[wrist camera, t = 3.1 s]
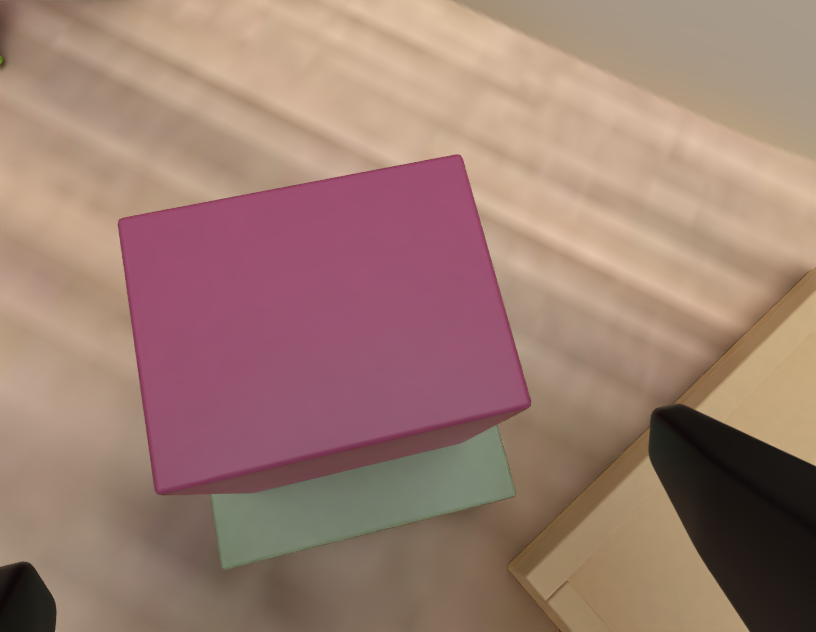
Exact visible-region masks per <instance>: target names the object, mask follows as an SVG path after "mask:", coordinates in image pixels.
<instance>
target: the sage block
mask: <svg viewBox="0 0 816 632" xmlns="http://www.w3.org/2000/svg"><path fill="white" fill-rule="evenodd" d="M515 495H516V492H515V488H514V484H513V481H512V477H511V473H510V469H509V466H508V462H507V458H506V454H505V451H504V447H503V443H502V439H501V436H500V432H499V428H498V424H497V425H495V426H493V427H491V428H490V429H488V430H486V431H484V432H482V433H480V434H478V435H476V436H474V437H472V438H471V439H469V440H467V441H465V442H463V443H460V444H456V445H452V446H447V447H443V448H439V449H435V450H431V451H427V452H422V453H418V454H414V455H410V456H406V457H402V458H397V459H393V460H389V461H385V462H381V463H377V464H372V465H368V466H364V467H360V468H356V469H352V470H347V471H343V472H339V473H335V474H331V475H327V476H322V477H318V478H314V479H310V480H306V481H302V482H297V483H293V484H289V485H285V486H281V487H277V488H272V489H268V490H264V491H260V492H256V493H242V494H210V499H211V505H212V511H213V518H214V524H215V530H216V537H217V543H218V549H219V555H220V562H221V567H222V569H225V570H226V569H230V568H234V567H238V566H242V565H246V564H249V563H253V562H257V561H261V560H265V559H269V558H273V557H277V556H281V555H285V554H289V553H293V552H297V551H301V550H305V549H309V548H313V547H317V546H321V545H325V544H329V543H333V542H337V541H341V540H345V539H349V538H353V537H357V536H361V535H365V534H369V533H373V532H377V531H381V530H385V529H389V528H393V527H397V526H401V525H405V524H409V523H412V522H416V521H420V520H424V519H428V518H432V517H436V516H440V515H444V514H448V513H452V512H456V511H460V510H464V509H468V508H472V507H476V506H480V505H484V504H488V503H492V502H496V501H500V500H504V499H508V498H512V497H514V496H515Z"/></svg>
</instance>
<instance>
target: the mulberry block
mask: <svg viewBox="0 0 816 632" xmlns="http://www.w3.org/2000/svg"><path fill="white" fill-rule="evenodd" d="M118 229H119V237H120V244H121V251H122V258H123V265H124V273H125V280H126V287H127V294H128V301H129V309H130V316H131V323H132V330H133V337H134V345H135V352H136V359H137V366H138V373H139V380H140V388H141V395H142V402H143V409H144V416H145V424H146V431H147V438H148V445H149V452H150V460H151V467H152V474H153V481H154V488H155V491H156V493H157V494H159V495H193V494H242V493H256V492H260V491H264V490H268V489H272V488H277V487H281V486H285V485H289V484H293V483H297V482H302V481H306V480H310V479H314V478H318V477H322V476H327V475H331V474H335V473H339V472H343V471H347V470H352V469H356V468H360V467H364V466H368V465H372V464H377V463H381V462H385V461H389V460H393V459H397V458H402V457H406V456H410V455H414V454H418V453H422V452H427V451H431V450H435V449H439V448H443V447H447V446H452V445H456V444H460V443H463V442H465V441H467V440H469V439H471V438H472V437H474V436H476V435H478V434H480V433H482V432H484V431H486V430H488V429H490V428H491V427H493V426H495V425H497V424H499V423H501V422H503V421H505V420H507V419H509V418H510V417H512V416H514V415H516V414H518V413H520V412H522V411H524V410H526V409H527V408H529V407H530V406H531V399H530V396H529V392H528V388H527V385H526V381H525V378H524V374H523V371H522V367H521V364H520V360H519V357H518V353H517V349H516V346H515V342H514V339H513V335H512V332H511V328H510V325H509V321H508V317H507V314H506V310H505V307H504V303H503V300H502V296H501V293H500V289H499V286H498V282H497V278H496V275H495V271H494V268H493V264H492V261H491V257H490V254H489V250H488V247H487V243H486V239H485V236H484V232H483V229H482V225H481V222H480V218H479V215H478V211H477V208H476V204H475V200H474V197H473V193H472V190H471V186H470V183H469V179H468V176H467V172H466V169H465V165H464V161H463V159H462V157H461V155H457V154H456V155H451V156H446V157H441V158H435V159H430V160H425V161H420V162H414V163H409V164H404V165H399V166H393V167H388V168H383V169H377V170H372V171H367V172H362V173H356V174H351V175H346V176H341V177H335V178H330V179H325V180H320V181H314V182H309V183H304V184H299V185H293V186H288V187H283V188H277V189H272V190H267V191H262V192H256V193H251V194H246V195H241V196H235V197H230V198H225V199H220V200H214V201H209V202H204V203H198V204H193V205H188V206H183V207H177V208H172V209H167V210H162V211H156V212H151V213H146V214H141V215H135V216H130V217H125V218H121V219H119V221H118Z"/></svg>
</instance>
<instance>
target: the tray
mask: <svg viewBox="0 0 816 632" xmlns="http://www.w3.org/2000/svg"><path fill="white" fill-rule="evenodd" d="M677 403H680V404H683V405H686V406H688V407H690V408H692V409H695V410H697V411H699V412H701V413H703V414H705V415H708V416H710V417H712V418H714V419H716V420H718V421H720V422H723V423H725V424H727V425H729V426H731V427H733V428H735V429H738V430H740V431H742V432H744V433H746V434H748V435H750V436H753V437H755V438H757V439H759V440H761V441H763V442H765V443H768V444H770V445H772V446H774V447H776V448H778V449H781V450H783V451H785V452H787V453H789V454H791V455H793V456H796V457H798V458H800V459H802V460H804V461H806V462H808V463H811V464H813V465H815V466H816V268H814V269H812V270H810V271H809V272H808V273H807V274H806V275H805V276H804V277H803V278H802V279H801V280H800V281H799V282H798V283H797V284H796V285H795V286H794V287H793V288H792V289H791V290H790V291H789V292H788V293H787V294H786V295H785V296H784V297H783V298H782V299H781V300H780V301H779V302H778V303H776V304H775V305H774V306H773V307H772V308H771V309H770V310H769V311H768V312H767V313H766V314H765V315H764V316H763V317H762V318H761V319H760V320H759V321H758V322H757V323H756V324H755V325H754V326H753V327H752V328H751V329H750V330H749V331H748V332H747V333H746V334H745V335H744V336H743V337H742V338H741V339H740V340H738V341H737V342H736V343H735V344H734V345H733V346H732V347H731V348H730V349H729V350H728V351H727V352H726V353H725V354H724V355H723V356H722V357H721V358H720V359H719V360H718V361H717V362H716V363H715V364H714V365H713V366H712V367H711V368H710V369H709V370H708V371H707V372H706V373H705V374H704V375H703V376H702V377H700V378H699V379H698V380H697V381H696V382H695V383H694V384H693V385H692V386H691V387H690V388H689V389H688V390H687V391H686V392H685V393H684V394H683V395H682V396H681V397H680V398H679V399H678V400H677V401H676V402H675V403H674V404H677ZM649 433H650V427H649V428H648V429H647V430H646V431H645V432H644V433H643V434H642V435H641V436H640V437H639V438H638V439H637V440H636V441H635V442H634V443H633V444H632V445H631V446H630V447H629V448H628V449H627V450H626V451H624V452H623V453H622V454H621V455H620V456H619V457H618V458H617V459H616V460H615V461H614V462H613V463H612V464H611V465H610V466H609V467H608V468H607V469H606V470H605V471H604V472H603V473H602V474H601V475H600V476H599V477H598V478H597V479H596V480H595V481H594V482H593V483H592V484H591V485H590V486H589V487H588V488H586V489H585V490H584V491H583V492H582V493H581V494H580V495H579V496H578V497H577V498H576V499H575V500H574V501H573V502H572V503H571V504H570V505H569V506H568V507H567V508H566V509H565V510H564V511H563V512H562V513H561V514H560V515H559V516H558V517H557V518H556V519H555V520H554V521H553V522H552V523H551V524H550V525H548V526H547V527H546V528H545V529H544V530H543V531H542V532H541V533H540V534H539V535H538V536H537V537H536V538H535V539H534V540H533V541H532V542H531V543H530V544H529V545H528V546H527V547H526V548H525V549H524V550H523V551H522V552H521V553H520V554H519V555H518V556H517V557H516V558H515V559H514V560H513V561H512V562H510V563H509V564H508V569H509V571H510V572H511V573H512V574H513V575H514V576H515V578H516V579H517V580H518V581H519V582H520V584H521V585H522V586H523V587H524V588H525V589H526V591H527V592H528V593H529V594H530V595H531V596H532V598H533V599H534V600H535V601H536V602H537V604H538V605H539V606H540V607H541V608H542V609H543V611H544V612H545V613H546V614H547V615H548V616H549V618H550V619H551V620H552V621H553V622H554V623H555V625H556V626H557V627H558V628H559V629H560V631H561V632H749V630H748V629H747V627H746V626H745V624H744V623H743V621H742V620H741V618H740V617H739V615H738V614H737V612H736V611H735V609H734V607H733V606H732V604H731V603H730V601H729V600H728V598H727V597H726V595H725V594H724V592H723V591H722V589H721V588H720V586H719V585H718V583H717V582H716V580H715V579H714V577H713V576H712V574H711V573H710V571H709V570H708V568H707V567H706V565H705V563H704V562H703V560H702V559H701V557H700V555H699V554H698V552H697V550H696V549H695V547H694V545H693V543H692V541H691V539H690V538H689V536H688V534H687V532H686V530H685V528H684V526H683V524H682V522H681V520H680V518H679V516H678V514H677V512H676V511H675V509H674V507H673V505H672V503H671V501H670V499H669V497H668V495H667V493H666V491H665V489H664V487H663V485H662V484H661V482H660V480H659V478H658V476H657V474H656V472H655V470H654V468H653V466H652V464H651V461H650V458H649V453H648V444H649Z"/></svg>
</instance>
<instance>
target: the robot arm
mask: <svg viewBox="0 0 816 632" xmlns="http://www.w3.org/2000/svg"><path fill="white" fill-rule="evenodd" d="M648 453H649V458H650V461H651V464H652V466H653V468H654V470H655V472H656V474H657V476H658V478H659V480H660V482H661V484H662V485H663V487H664V489H665V491H666V493H667V495H668V497H669V499H670V501H671V503H672V505H673V507H674V509H675V511H676V512H677V514H678V516H679V518H680V520H681V522H682V524H683V526H684V528H685V530H686V532H687V534H688V536H689V538H690V539H691V541H692V543H693V545H694V547H695V549H696V550H697V552H698V554H699V555H700V557H701V559H702V560H703V562H704V563H705V565H706V567H707V568H708V570H709V571H710V573H711V574H712V576H713V577H714V579H715V580H716V582H717V583H718V585H719V586H720V588H721V589H722V591H723V592H724V594H725V595H726V597H727V598H728V600H729V601H730V603H731V604H732V606H733V607H734V609H735V611H736V612H737V614H738V615H739V617H740V618H741V620H742V621H743V623H744V624H745V626H746V627H747V629H748V630H749V632H816V466H815V465H813V464H811V463H808V462H806V461H804V460H802V459H800V458H798V457H796V456H793V455H791V454H789V453H787V452H785V451H783V450H781V449H778V448H776V447H774V446H772V445H770V444H768V443H765V442H763V441H761V440H759V439H757V438H755V437H753V436H750V435H748V434H746V433H744V432H742V431H740V430H738V429H735V428H733V427H731V426H729V425H727V424H725V423H723V422H720V421H718V420H716V419H714V418H712V417H710V416H708V415H705V414H703V413H701V412H699V411H697V410H695V409H692V408H690V407H688V406H686V405H683V404H680V403H677V404H672V405H667V406H663V407H659V408H656V409H655V410H654V411H653V412H652V414H651V421H650V433H649V444H648ZM55 626H56V604H55V601H54V598H53V596H52V594H51V593H50V591H49V590H48V588H47V587H46V585H45V584H44V582H43V580H42V579H41V577H40V576H39V574H38V573H37V571H36V570H35V568H34V567H33V566H32V564H30V563H28V562H18V563H14V564H10V565H6V566H2V567H0V632H55Z"/></svg>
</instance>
